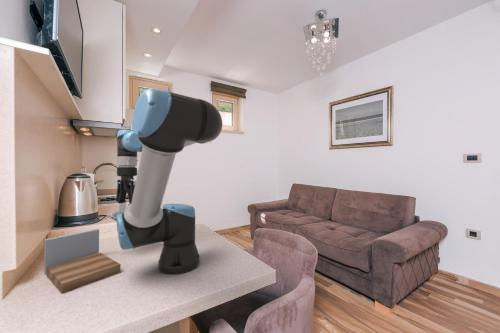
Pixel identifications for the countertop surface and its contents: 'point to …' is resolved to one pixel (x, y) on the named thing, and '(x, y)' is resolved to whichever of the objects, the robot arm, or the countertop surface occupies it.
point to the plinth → (82, 272)
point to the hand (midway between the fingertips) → (127, 219)
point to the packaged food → (116, 214)
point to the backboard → (70, 247)
